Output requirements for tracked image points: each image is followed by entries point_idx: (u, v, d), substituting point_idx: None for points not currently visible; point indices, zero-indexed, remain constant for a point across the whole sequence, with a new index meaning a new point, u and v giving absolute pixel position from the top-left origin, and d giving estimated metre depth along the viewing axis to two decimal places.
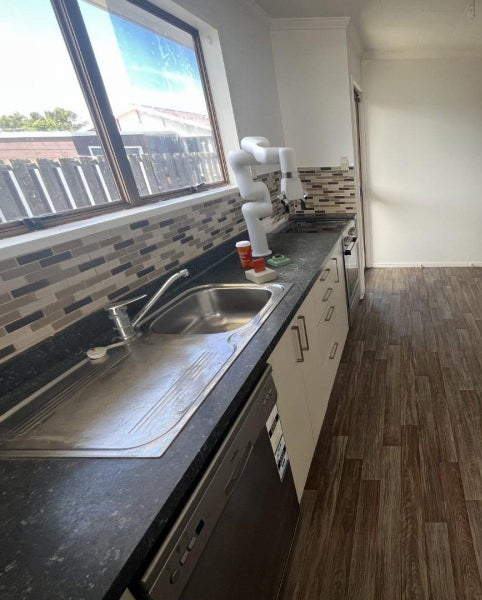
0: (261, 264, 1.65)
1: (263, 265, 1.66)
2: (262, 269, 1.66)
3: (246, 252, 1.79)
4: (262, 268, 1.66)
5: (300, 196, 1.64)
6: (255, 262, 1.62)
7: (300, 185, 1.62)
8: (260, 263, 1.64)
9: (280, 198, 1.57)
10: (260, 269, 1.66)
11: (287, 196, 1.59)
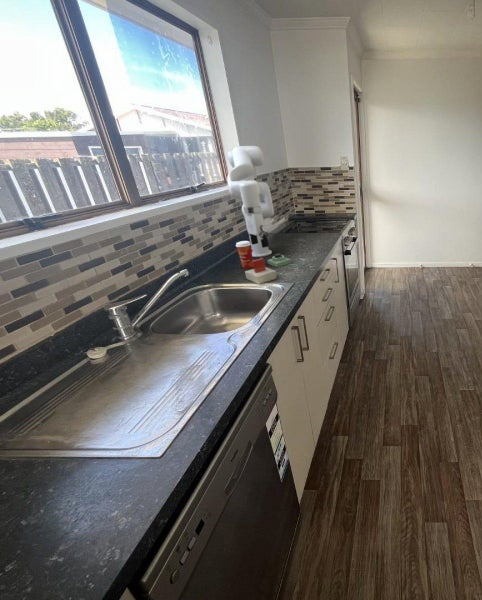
0: (261, 264, 1.65)
1: (263, 265, 1.66)
2: (262, 269, 1.66)
3: (246, 252, 1.79)
4: (262, 268, 1.66)
5: None
6: (255, 262, 1.62)
7: None
8: (260, 263, 1.64)
9: None
10: (260, 269, 1.66)
11: (265, 229, 1.57)
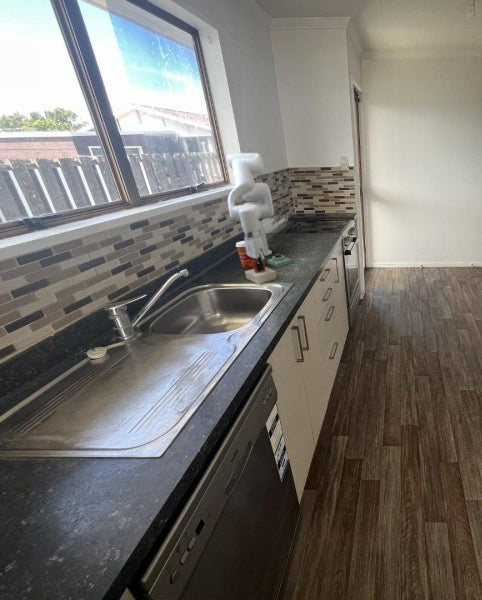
0: None
1: None
2: None
3: (246, 252, 1.79)
4: None
5: None
6: (255, 262, 1.62)
7: None
8: None
9: None
10: None
11: (264, 252, 1.61)
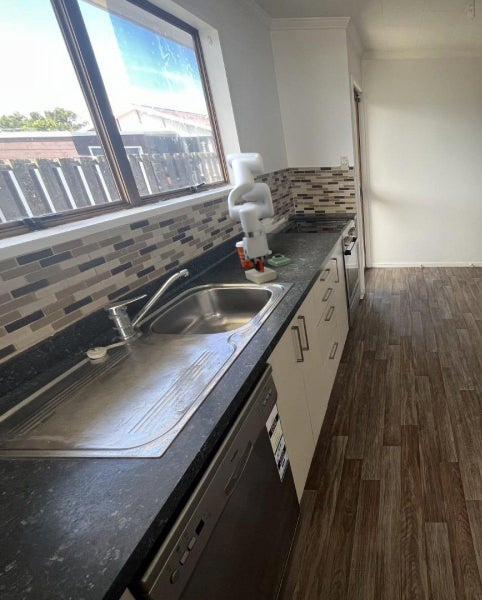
0: None
1: (259, 267, 1.63)
2: None
3: None
4: None
5: (263, 253, 1.63)
6: None
7: (263, 242, 1.61)
8: None
9: (248, 259, 1.59)
10: None
11: (249, 255, 1.58)
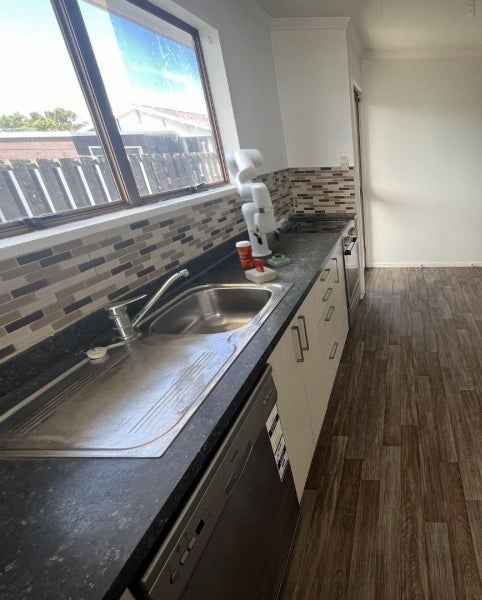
0: (258, 265, 1.64)
1: (259, 267, 1.63)
2: (259, 270, 1.65)
3: (246, 252, 1.79)
4: (259, 269, 1.65)
5: (272, 229, 1.74)
6: (254, 260, 1.64)
7: (273, 218, 1.72)
8: (257, 264, 1.64)
9: (253, 231, 1.68)
10: (258, 269, 1.65)
11: (260, 229, 1.69)
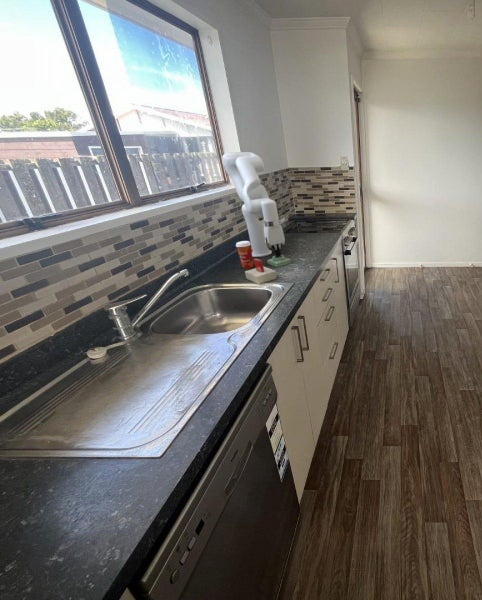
0: (258, 265, 1.64)
1: (259, 267, 1.63)
2: (259, 270, 1.65)
3: (246, 252, 1.79)
4: (259, 269, 1.65)
5: (281, 241, 1.84)
6: (254, 260, 1.64)
7: (281, 231, 1.82)
8: (257, 264, 1.64)
9: (270, 246, 1.81)
10: (258, 269, 1.65)
11: (269, 242, 1.79)
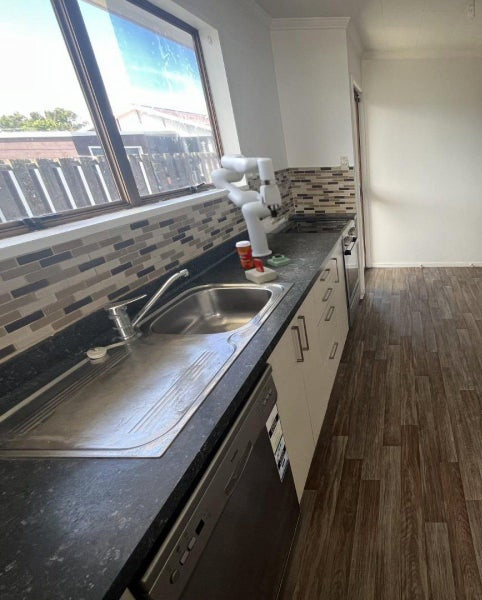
0: (258, 265, 1.64)
1: (259, 267, 1.63)
2: (259, 270, 1.65)
3: (246, 252, 1.79)
4: (259, 269, 1.65)
5: (277, 201, 1.82)
6: (254, 260, 1.64)
7: (278, 191, 1.80)
8: (257, 264, 1.64)
9: (266, 206, 1.79)
10: (258, 269, 1.65)
11: (265, 201, 1.77)
